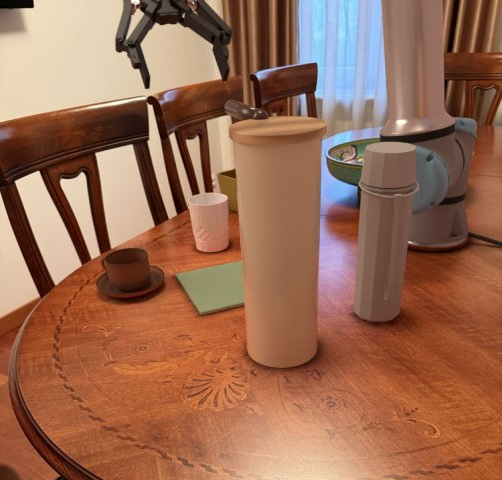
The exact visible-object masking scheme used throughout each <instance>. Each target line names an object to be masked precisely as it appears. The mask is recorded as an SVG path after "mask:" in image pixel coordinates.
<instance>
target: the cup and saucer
mask: <svg viewBox="0 0 502 480" xmlns="http://www.w3.org/2000/svg"><path fill="white" fill-rule="evenodd" d="M100 265H101V268H102V269H103V270H104V271H105V272H104V273H102V274H100V276H98V278H97V279H96V281H95V287H96V289H97V290H98V292H100V293H101V294H103V295H105V296H107V297H110V298H117V299H129V298H136V297H140V296H144V295H147V294H149V293H151V292H153V291H155V290H156V289H158V288H159V287H160V286H161V285H162V283H163V282H164V280H165V271H164V270H163V269H162V268H160V267H158V266H156V265H152V264H150V260H149V254H148V251H147V250H145V249H144V248H139V247H126V248H125V247H124V248H120V249H117V250H114V251H110V253H108V254H106V255H105V256H102V257H101V259H100Z"/></svg>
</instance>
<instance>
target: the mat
mask: <svg viewBox="0 0 502 480" xmlns="http://www.w3.org/2000/svg"><path fill="white" fill-rule="evenodd" d="M174 276H175V278H176V279H177V281H178V282H179V284H180V285H181V287H182V288H183V290H184V291H185V293H186V295H187V296H188V298H189V299H190V301H191V302H192V304H193V306H194V307H195V309H196V310H197V311H198V313H199V314H200V316H205V315H210V314H215V313H218V312H222V311H226V310H231V309H234V308H240V307H244V293H243V278H242V262H241V260H237V261H232V262H231V261H230V262H227V263H221V264H217V265H212V266H208V267H207V266H206V267H203V268H198V269H193V270H189V271H183V272H179V273H178V272H177V273H175V275H174Z"/></svg>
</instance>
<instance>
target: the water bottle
mask: <svg viewBox="0 0 502 480" xmlns="http://www.w3.org/2000/svg"><path fill="white" fill-rule="evenodd" d="M361 169H362V170H361V175H360V179H359V182H358V187H359V188H360V189H361V190H360V203H359V204H360V205H359V219H358V234H357V250H356V251H357V252H356V263H355V264H356V266H355V280H354V293H353V294H354V295H353V296H354V297H353V312H354V314H355V315H356V316H357V317H358V318H360V319H361V320H364V321H366V322H369V323H386V322H390V321H392V320H393V319H395V318H396V317H397V316H398V315H399V314H400V313H401V304H402V296H403V287H404V281H405V280H404V279H405V271H406V263H407V254H408V248H407V247H408V239H409V230H410V222H411V214H412V206H413V197H414V194H415V193H416V192H417V191H418V190H419V184H418V183H417V181H416V147H415V145H412V144H409V143H402V142H380V141H379V142H373V143H370V144H367V145H366V146H365V149H364V155H363V162H362V167H361ZM415 186H416V190H415V191H414V189H413V187H415Z"/></svg>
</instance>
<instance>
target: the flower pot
mask: <svg viewBox="0 0 502 480" xmlns="http://www.w3.org/2000/svg"><path fill="white" fill-rule="evenodd" d="M216 178H217V183H218V187H219V191H220V192H219V193H221V194H224V195H226V196H227V197H228V209H229V210H231V211H234V212H237V213H238V199H237V183H236V167H235V168H231V169H228V170H224V171H220V172H217V173H216Z"/></svg>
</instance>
